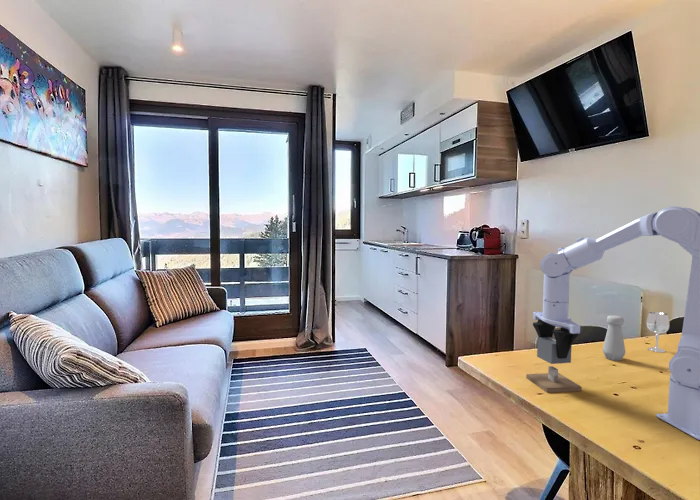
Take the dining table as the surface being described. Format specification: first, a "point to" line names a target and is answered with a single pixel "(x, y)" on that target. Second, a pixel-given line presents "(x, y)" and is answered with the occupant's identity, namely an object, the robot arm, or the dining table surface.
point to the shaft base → (553, 381)
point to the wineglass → (657, 326)
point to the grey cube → (550, 351)
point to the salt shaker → (614, 339)
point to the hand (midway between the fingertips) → (553, 354)
